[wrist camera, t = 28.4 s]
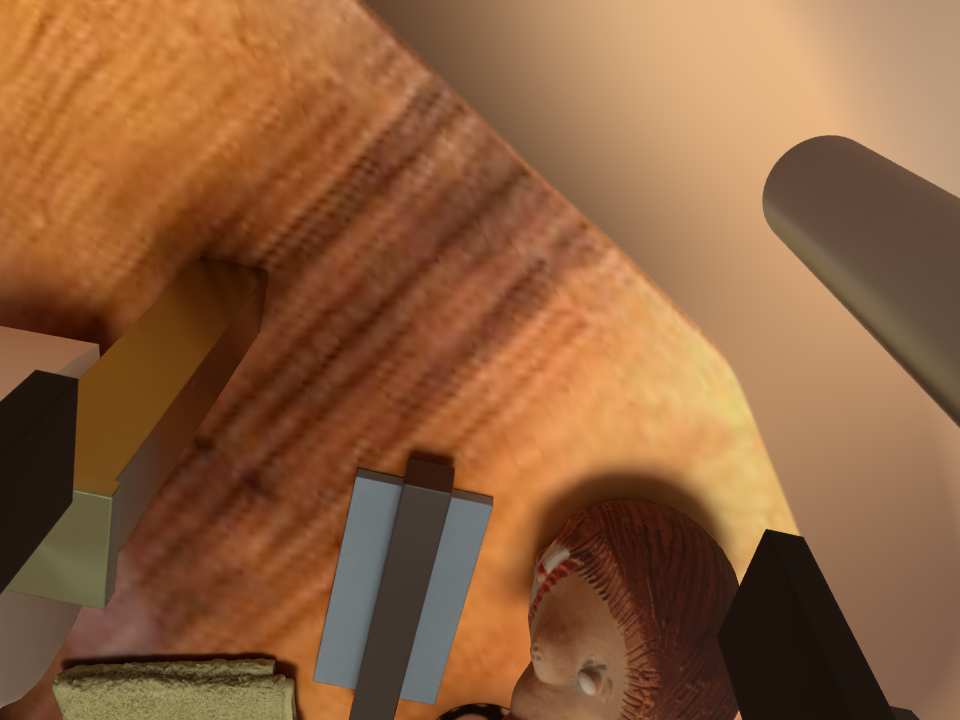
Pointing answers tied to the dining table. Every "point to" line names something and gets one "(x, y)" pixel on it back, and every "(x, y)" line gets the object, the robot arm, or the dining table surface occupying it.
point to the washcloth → (176, 691)
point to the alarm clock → (15, 616)
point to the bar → (402, 588)
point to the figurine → (628, 620)
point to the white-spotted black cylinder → (476, 713)
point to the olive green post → (143, 422)
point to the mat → (363, 575)
